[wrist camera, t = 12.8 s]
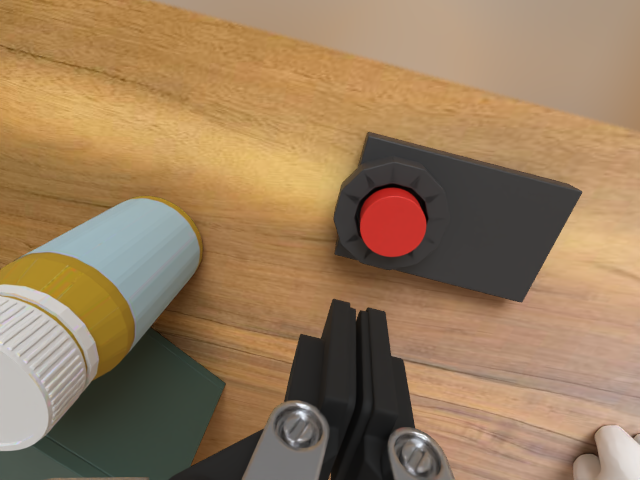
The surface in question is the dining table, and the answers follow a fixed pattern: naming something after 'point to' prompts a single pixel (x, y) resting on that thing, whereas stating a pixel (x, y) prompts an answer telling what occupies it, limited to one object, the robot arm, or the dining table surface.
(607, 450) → the elephant figurine
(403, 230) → the button
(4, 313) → the bottle
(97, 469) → the cupboard
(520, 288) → the switch
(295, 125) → the dining table surface
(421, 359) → the dining table surface
